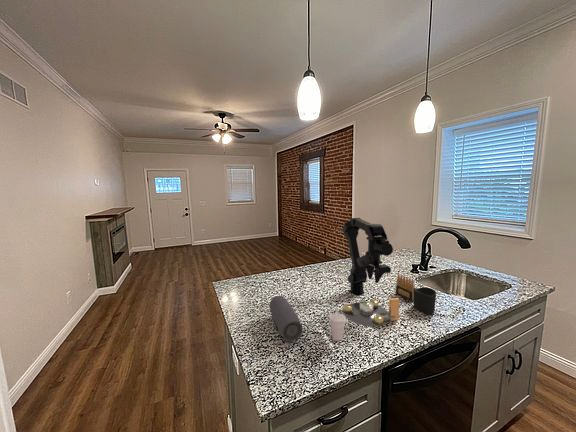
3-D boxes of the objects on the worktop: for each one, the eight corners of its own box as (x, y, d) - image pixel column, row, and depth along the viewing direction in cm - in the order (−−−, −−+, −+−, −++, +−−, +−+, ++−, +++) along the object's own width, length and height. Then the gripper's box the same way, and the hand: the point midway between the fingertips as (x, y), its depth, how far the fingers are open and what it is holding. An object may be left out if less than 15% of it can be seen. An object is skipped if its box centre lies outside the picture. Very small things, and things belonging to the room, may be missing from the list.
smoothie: (327, 335, 99) (327, 302, 97) (342, 334, 99) (343, 302, 98) (331, 346, 93) (331, 311, 91) (348, 345, 93) (348, 310, 91)
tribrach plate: (333, 313, 116) (333, 300, 115) (362, 300, 128) (362, 289, 127) (371, 334, 99) (371, 320, 98) (400, 318, 111) (401, 305, 110)
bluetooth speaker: (304, 342, 95) (304, 317, 94) (281, 346, 93) (280, 322, 91) (287, 313, 117) (287, 293, 116) (268, 316, 114) (268, 296, 113)
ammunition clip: (414, 301, 127) (415, 278, 126) (411, 301, 126) (412, 279, 125) (397, 293, 137) (398, 272, 135) (395, 293, 136) (396, 272, 135)
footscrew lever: (376, 325, 103) (377, 303, 102) (371, 320, 107) (372, 299, 106) (400, 321, 106) (401, 300, 104) (394, 317, 110) (395, 296, 108)
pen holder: (434, 317, 111) (436, 296, 110) (411, 312, 116) (412, 292, 115) (435, 308, 119) (436, 289, 118) (413, 304, 124) (414, 285, 123)
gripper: (349, 246, 126) (349, 276, 128) (370, 256, 108) (369, 290, 110) (369, 245, 129) (368, 274, 131) (392, 254, 111) (390, 288, 113)
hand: (373, 281), depth 121 cm, fingers open, 5 cm apart
